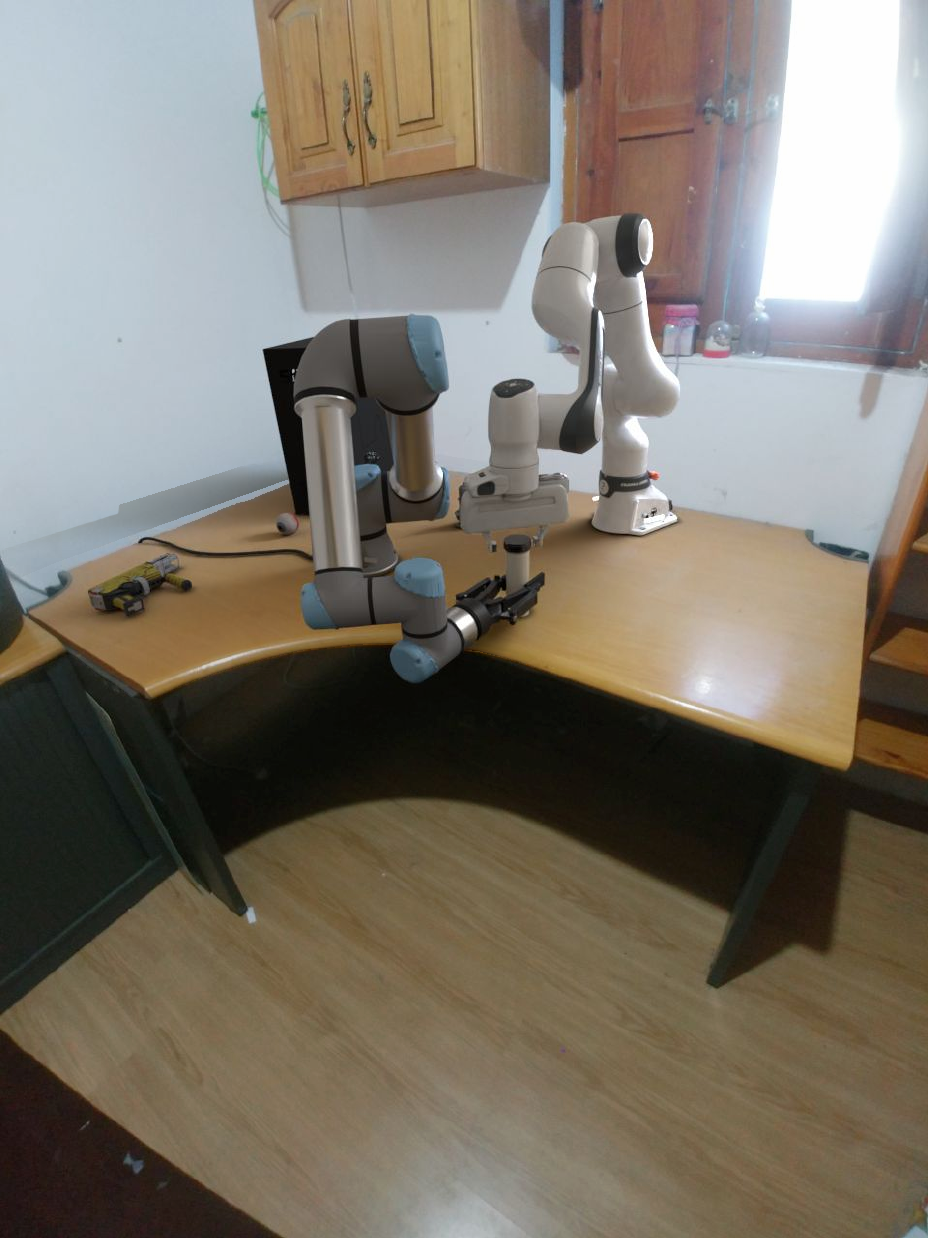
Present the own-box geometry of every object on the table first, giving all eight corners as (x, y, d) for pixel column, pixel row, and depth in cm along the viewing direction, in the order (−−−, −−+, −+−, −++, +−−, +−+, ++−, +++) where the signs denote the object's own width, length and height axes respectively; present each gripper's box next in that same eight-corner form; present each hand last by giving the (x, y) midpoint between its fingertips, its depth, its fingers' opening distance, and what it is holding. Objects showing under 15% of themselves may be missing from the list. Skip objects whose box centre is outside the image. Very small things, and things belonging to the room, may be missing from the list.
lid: (518, 539, 118) (518, 531, 117) (536, 547, 114) (537, 539, 113) (497, 547, 115) (497, 538, 114) (515, 555, 111) (515, 547, 110)
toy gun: (216, 561, 144) (165, 550, 148) (137, 604, 124) (81, 590, 128) (219, 578, 146) (168, 567, 150) (142, 623, 126) (86, 609, 130)
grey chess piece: (474, 529, 161) (472, 485, 155) (453, 528, 162) (450, 485, 156) (478, 521, 166) (476, 478, 160) (457, 520, 167) (455, 478, 161)
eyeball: (273, 537, 164) (268, 516, 161) (287, 528, 169) (282, 508, 166) (291, 539, 161) (286, 518, 158) (305, 530, 166) (301, 510, 163)
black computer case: (359, 516, 174) (334, 346, 152) (295, 513, 179) (262, 349, 156) (400, 477, 206) (384, 331, 183) (345, 476, 210) (323, 334, 188)
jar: (532, 609, 122) (533, 540, 115) (522, 619, 119) (522, 548, 111) (512, 604, 124) (512, 536, 117) (502, 614, 121) (500, 544, 113)
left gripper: (426, 629, 113) (496, 581, 129) (504, 657, 103) (569, 602, 119) (422, 594, 109) (495, 549, 125) (503, 620, 100) (571, 568, 115)
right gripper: (564, 466, 112) (561, 536, 119) (456, 478, 109) (460, 548, 116) (575, 476, 107) (572, 548, 114) (462, 488, 104) (466, 561, 111)
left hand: (531, 575), depth 122 cm, fingers closed on jar, 5 cm apart
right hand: (514, 548), depth 115 cm, fingers open, 7 cm apart
